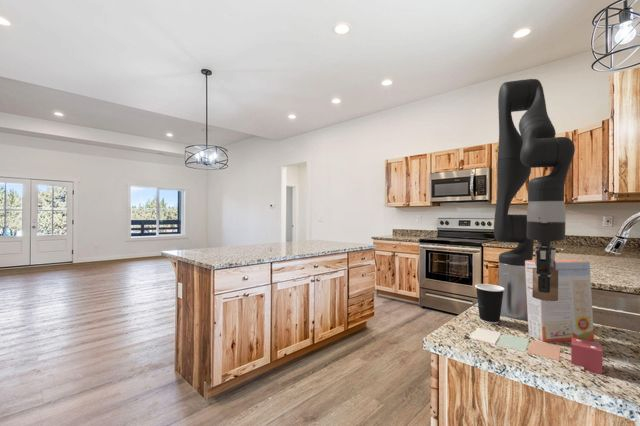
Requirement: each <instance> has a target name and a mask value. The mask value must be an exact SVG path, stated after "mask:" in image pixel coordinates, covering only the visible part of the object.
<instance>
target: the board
mask: <svg viewBox="0 0 640 426" xmlns="http://www.w3.org/2000/svg"><path fill="white" fill-rule="evenodd" d="M501 334H502V335H501ZM468 338H470V339H473V340H478V341H480V342H485V343H488V344H491V345H492V344H493V345H495V344H496V345H497V346H501V347H504V348H509V349H512V350H516V351H520V352H523V353H525V352H526V351H527V353H528V354H532V355H536V356H540V357H543V358H548V359H551V360H555V361H560V356H561V347H562V346H558V345H556V344H555V345H554V344H550V343H547V342H543V341H538V340H533V339H531V340H530V339H528V338H525V337H521V336H515V335H513V334H512V335H511V334H508V333H507V334H506V333H502V332H499V331H495V330H489V329H486V328H482V327H476V328H475V330H474V331H473V332H472V334H471V335H469V337H468ZM529 341H530V342H529ZM527 347H528V349H527Z"/></svg>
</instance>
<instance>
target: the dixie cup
mask: <svg viewBox="0 0 640 426" xmlns="http://www.w3.org/2000/svg"><path fill="white" fill-rule="evenodd" d="M474 287H475V288H476V289H475V290H476V297H477V307H478V317H479V319H480V321H482V322H484V323H486V324H494V325H496V324H499V322H500V321H501V315H500V314H501V306H502V299H503V292H504V290H505V289H504V288H503V287H501V286H499V285H498V284H497V285H496V284H489V283H477V284H475V285H474Z"/></svg>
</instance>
